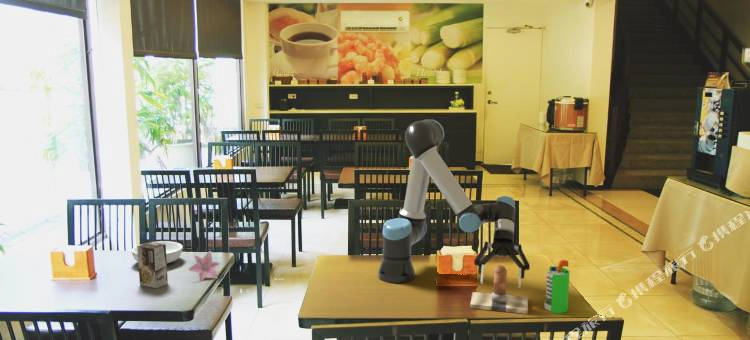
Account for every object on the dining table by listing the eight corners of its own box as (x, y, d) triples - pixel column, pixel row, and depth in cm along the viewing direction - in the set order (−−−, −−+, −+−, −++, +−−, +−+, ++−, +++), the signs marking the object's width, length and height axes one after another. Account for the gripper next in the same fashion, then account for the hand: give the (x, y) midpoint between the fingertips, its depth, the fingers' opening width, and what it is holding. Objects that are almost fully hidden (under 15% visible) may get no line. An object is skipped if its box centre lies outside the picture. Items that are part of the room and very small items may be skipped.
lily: (184, 283, 231) (189, 266, 226) (190, 263, 241) (195, 247, 236) (213, 290, 234) (219, 273, 229) (219, 270, 243) (224, 254, 239)
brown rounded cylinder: (491, 302, 208) (493, 267, 205) (492, 297, 213) (493, 262, 210) (506, 303, 206) (508, 268, 204) (506, 298, 211) (508, 264, 209)
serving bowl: (173, 270, 242) (172, 255, 241) (124, 270, 243) (123, 254, 242) (189, 255, 263) (189, 241, 262) (144, 254, 263) (143, 240, 262)
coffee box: (168, 283, 228) (166, 244, 225) (156, 288, 222) (154, 248, 219) (151, 279, 231) (149, 241, 229) (138, 285, 226) (136, 245, 223)
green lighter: (540, 303, 211) (543, 256, 208) (561, 302, 212) (564, 255, 209) (549, 313, 202) (552, 264, 199) (572, 312, 203) (575, 264, 200)
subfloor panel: (470, 308, 206) (470, 304, 206) (472, 295, 218) (472, 292, 217) (527, 313, 202) (527, 309, 201) (526, 301, 213) (527, 297, 213)
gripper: (536, 240, 222) (535, 291, 210) (471, 235, 228) (466, 284, 216) (537, 231, 216) (536, 283, 204) (470, 226, 222) (465, 276, 210)
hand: (500, 284), depth 210 cm, fingers open, 13 cm apart
